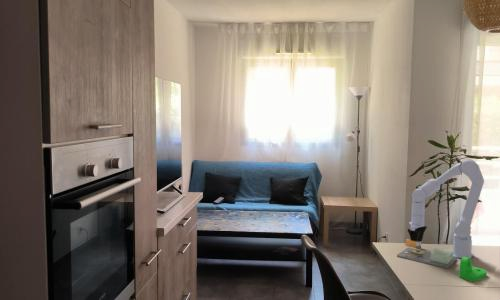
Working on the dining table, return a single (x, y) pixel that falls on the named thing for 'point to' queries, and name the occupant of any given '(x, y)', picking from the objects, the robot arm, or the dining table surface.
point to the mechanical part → (470, 270)
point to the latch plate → (423, 257)
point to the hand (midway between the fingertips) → (416, 242)
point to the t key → (414, 244)
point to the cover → (441, 255)
